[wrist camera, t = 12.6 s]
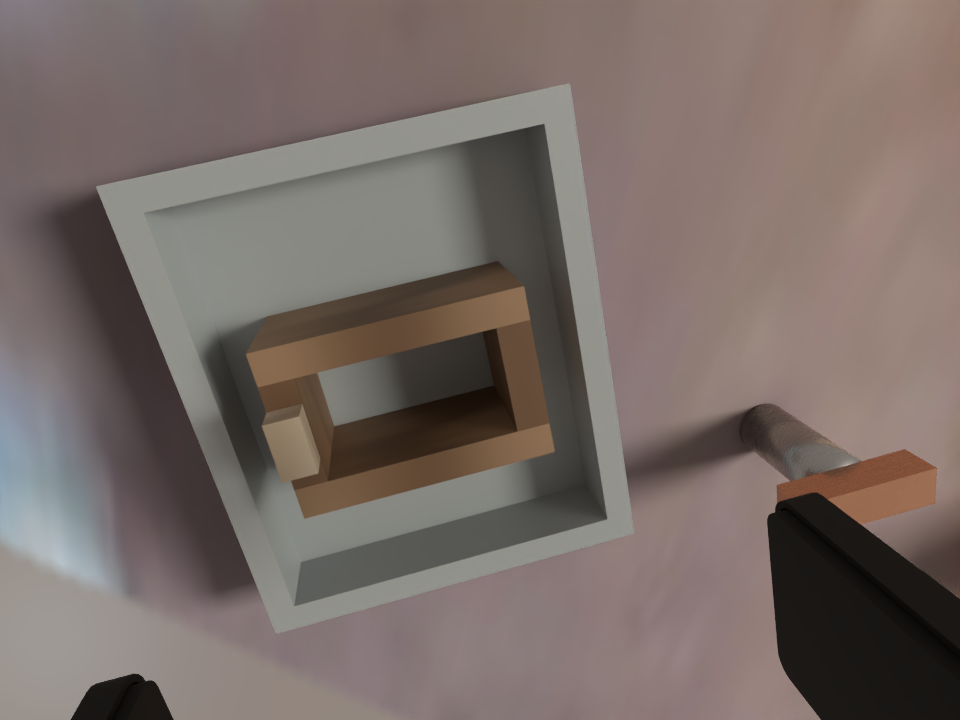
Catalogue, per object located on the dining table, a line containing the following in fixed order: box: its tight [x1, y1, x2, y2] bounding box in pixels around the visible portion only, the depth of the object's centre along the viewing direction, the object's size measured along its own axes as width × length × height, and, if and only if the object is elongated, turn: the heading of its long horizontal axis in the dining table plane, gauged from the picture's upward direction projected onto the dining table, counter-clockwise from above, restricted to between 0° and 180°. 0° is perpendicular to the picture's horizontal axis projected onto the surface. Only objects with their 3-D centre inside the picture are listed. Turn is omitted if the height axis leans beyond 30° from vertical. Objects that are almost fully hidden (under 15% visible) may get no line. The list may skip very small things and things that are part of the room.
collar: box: [246, 261, 555, 519], centre depth 18 cm, size 7×5×4 cm
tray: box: [96, 83, 634, 634], centre depth 19 cm, size 14×12×3 cm
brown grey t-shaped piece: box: [740, 404, 937, 524], centre depth 21 cm, size 2×4×5 cm, turn 102°
